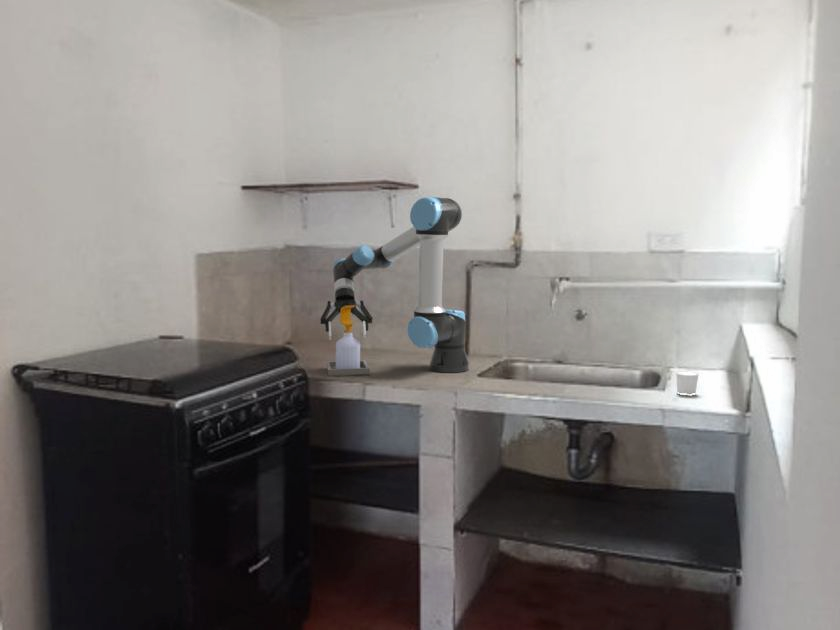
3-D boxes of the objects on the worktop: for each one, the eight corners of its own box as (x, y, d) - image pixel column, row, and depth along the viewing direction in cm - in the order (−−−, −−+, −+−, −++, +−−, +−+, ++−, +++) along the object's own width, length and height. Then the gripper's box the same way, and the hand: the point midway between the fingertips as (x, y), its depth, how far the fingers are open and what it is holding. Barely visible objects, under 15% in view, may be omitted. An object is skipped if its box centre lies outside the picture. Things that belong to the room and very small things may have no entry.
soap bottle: (341, 373, 262) (342, 306, 259) (331, 368, 270) (332, 304, 267) (363, 371, 266) (364, 305, 263) (353, 366, 274) (354, 303, 271)
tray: (365, 367, 277) (365, 360, 277) (369, 375, 262) (369, 368, 261) (326, 368, 275) (326, 361, 274) (328, 376, 259) (328, 369, 259)
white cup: (699, 397, 230) (700, 375, 229) (677, 396, 231) (678, 374, 230) (694, 392, 237) (696, 371, 236) (673, 391, 238) (674, 370, 237)
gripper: (374, 298, 282) (379, 342, 269) (312, 299, 278) (314, 344, 265) (376, 286, 276) (381, 330, 263) (312, 286, 272) (314, 331, 259)
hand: (347, 337), depth 264 cm, fingers open, 12 cm apart
